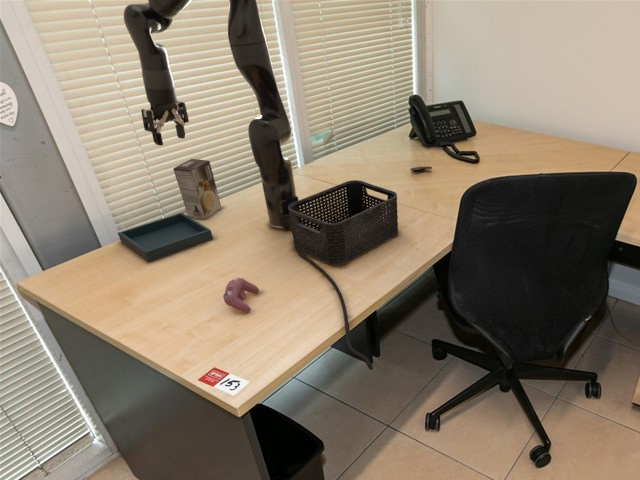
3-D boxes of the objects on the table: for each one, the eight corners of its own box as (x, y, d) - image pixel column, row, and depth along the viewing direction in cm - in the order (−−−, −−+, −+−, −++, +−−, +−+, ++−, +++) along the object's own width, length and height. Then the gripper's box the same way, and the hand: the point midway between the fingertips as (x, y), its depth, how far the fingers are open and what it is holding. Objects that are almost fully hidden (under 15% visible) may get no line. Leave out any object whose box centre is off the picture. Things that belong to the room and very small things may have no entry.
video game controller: (246, 296, 133) (228, 276, 129) (261, 289, 132) (243, 269, 128) (236, 319, 125) (216, 298, 121) (251, 312, 124) (232, 291, 120)
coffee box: (204, 205, 171) (191, 157, 161) (222, 207, 170) (210, 160, 161) (187, 216, 164) (172, 167, 154) (205, 219, 163) (191, 170, 153)
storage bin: (357, 215, 170) (354, 177, 163) (403, 233, 162) (402, 192, 155) (289, 249, 151) (282, 206, 143) (337, 270, 143) (332, 226, 135)
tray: (213, 239, 153) (210, 229, 151) (149, 262, 141) (145, 252, 139) (184, 221, 161) (181, 212, 159) (121, 242, 149) (117, 232, 147)
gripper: (149, 91, 140) (162, 150, 150) (189, 83, 152) (198, 138, 161) (127, 85, 142) (141, 144, 151) (167, 78, 153) (178, 133, 162)
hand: (170, 141), depth 156 cm, fingers open, 8 cm apart
